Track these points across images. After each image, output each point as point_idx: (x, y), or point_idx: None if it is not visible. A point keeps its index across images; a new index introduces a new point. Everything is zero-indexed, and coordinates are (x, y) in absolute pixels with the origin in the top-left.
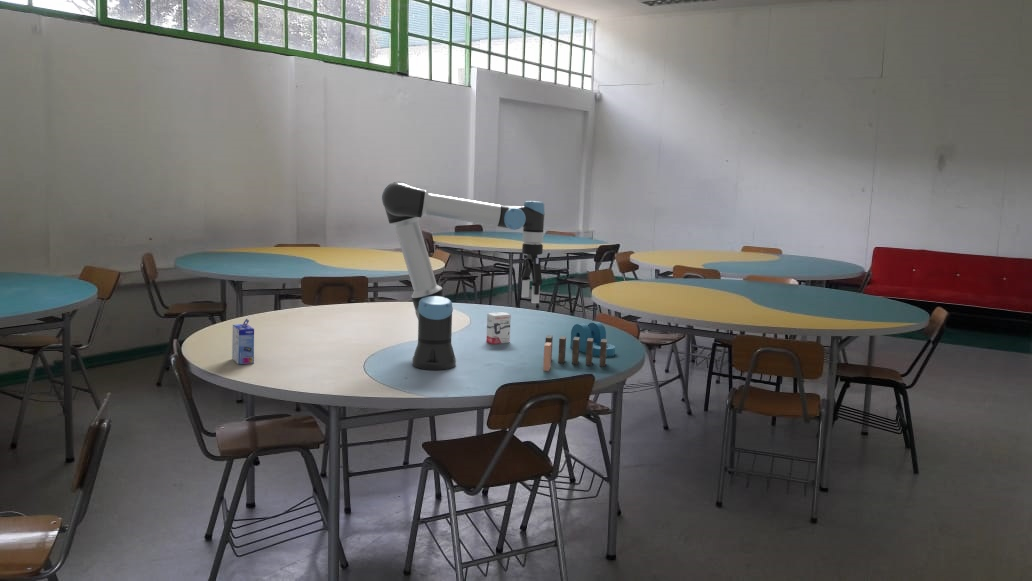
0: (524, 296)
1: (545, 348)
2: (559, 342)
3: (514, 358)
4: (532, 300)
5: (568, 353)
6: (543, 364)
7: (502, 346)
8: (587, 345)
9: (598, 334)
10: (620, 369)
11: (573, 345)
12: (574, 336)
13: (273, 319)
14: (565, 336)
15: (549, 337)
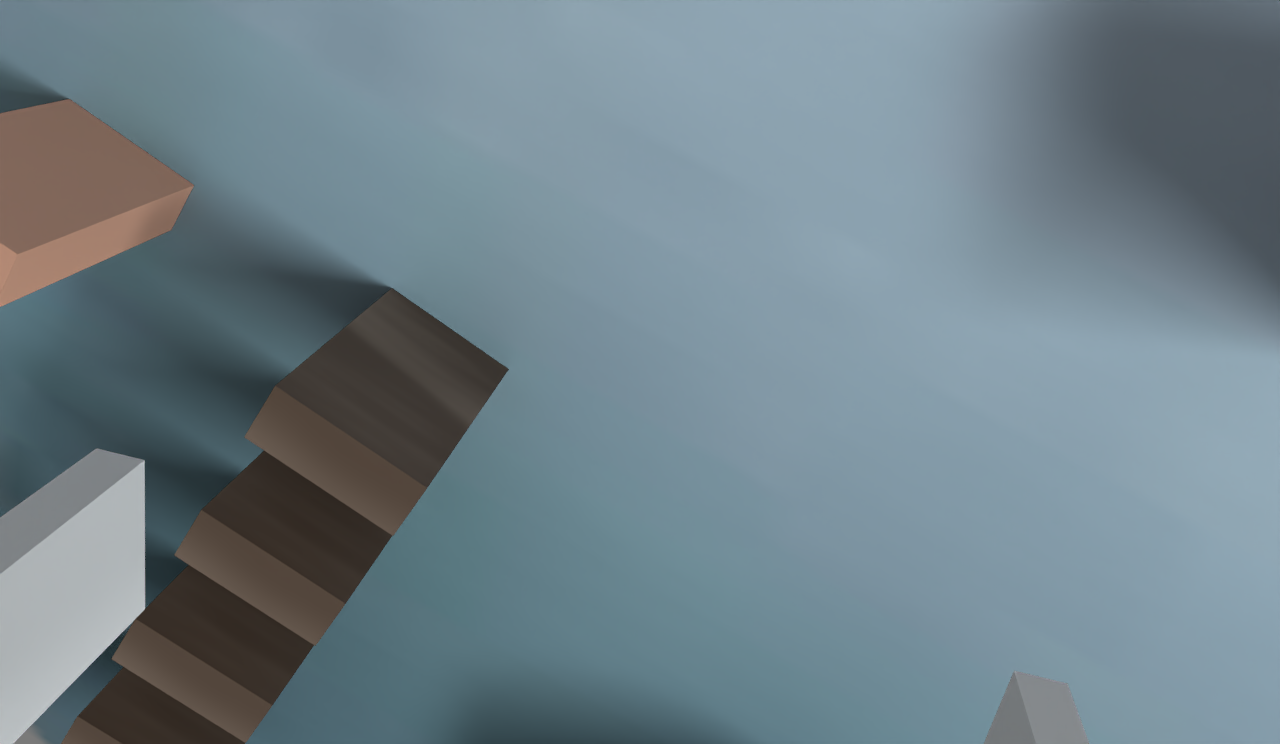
0: (996, 736)
1: None
2: (222, 490)
3: (608, 41)
4: (49, 493)
5: (648, 664)
6: (25, 108)
7: (1233, 183)
8: (105, 688)
9: None
10: (56, 722)
11: (168, 586)
12: None
13: None
14: (311, 636)
15: (283, 438)
